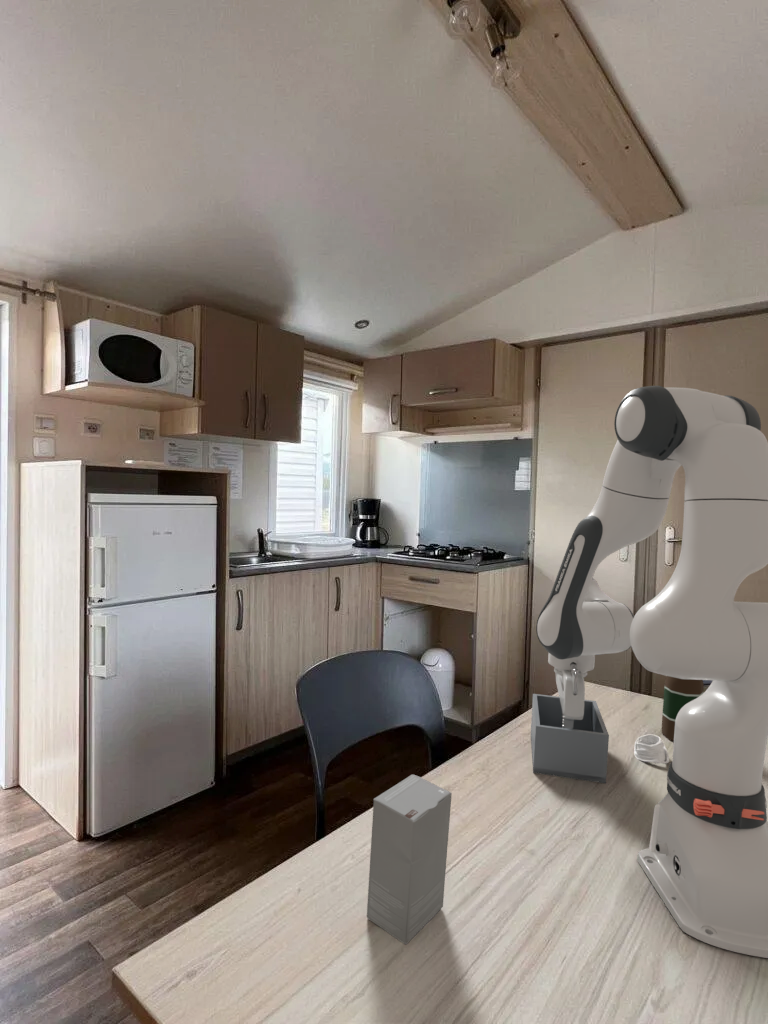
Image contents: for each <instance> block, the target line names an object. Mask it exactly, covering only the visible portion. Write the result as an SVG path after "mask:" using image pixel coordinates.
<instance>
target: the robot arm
mask: <svg viewBox="0 0 768 1024" xmlns="http://www.w3.org/2000/svg"><path fill="white" fill-rule="evenodd" d="M616 409H617V410H616V413H615V416H614V421H613V422H614V423H613V425H614V432H615V436H616V438H617V440H616V443H615V445H614V446H613V449H612V452H611V454H610V457H609V460H608V463H607V466H606V469H605V472H604V474H603V475H604V476H603V480H602V485H601V487H600V488H601V489H600V492H599V495H598V497H597V499H596V502H595V503H594V505H593V507H592V509H591V510H590V511H589V513H588V514H587V516H585V517H584V518H583V519H582V520H580V521H579V522H578V524H577V525H576V527H575V529H574V531H573V533H572V535H571V538H570V541H569V543H568V545H567V549H566V551H565V553H564V556H563V559H562V561H561V564H560V566H559V570H558V573H557V575H556V577H555V581H554V584H553V586H552V589H551V591H550V594H549V596H548V599H547V600H546V602H545V604H544V605H543V607H542V609H541V610H540V613H539V615H538V617H537V619H536V629H535V632H536V637H537V639H538V641H539V643H540V645H542V646H541V647H543V649H544V650H545V651H547V653H548V655H547V657H548V658H547V659H548V660H547V663H548V664H549V665H550V666H552V667H554V668H553V672H554V673H555V675H554V676H555V682H556V687H557V689H556V690H557V693H558V697H559V698H560V703H561V707H562V720H563V719H564V720H563V725H564V728H568V729H573V724H574V719H575V720H582V719H583V716H584V701H585V700H586V698H585V695H586V693H585V692H586V688H585V687H586V686H585V685H586V684H585V678H586V677H587V676H588V672H589V671H593V670H594V668H595V663H596V662H595V660H596V655H597V656H598V655H606V654H617V653H622V652H627V651H628V650H629V649H630V648H631V649H632V652H633V654H634V656H635V658H636V659H637V661H638V662H639V664H641V666H642V667H643V668H644V669H645V670H646V671H649V672H651V673H654V674H658V675H662V676H664V677H666V676H670V677H674V678H679V679H687V680H703V681H711V683H710V685H709V686H708V688H706V690H705V691H704V693H703V694H702V695H701V696H699V697H698V698H696V699H694V700H692V701H690V702H689V703H687V704H685V705H684V706H683V707H682V708H681V709H680V711H679V712H678V714H677V717H676V719H675V731H674V741H673V746H672V747H673V750H672V761H671V762H669V763H668V764H669V765H668V770H667V772H666V790H667V793H666V794H665V796H664V797H663V798H662V799H661V800H660V801H659V802H657V803H656V804H655V806H654V809H653V815H652V823H651V824H652V825H651V831H650V839H649V840H650V841H649V847H647V848H643V849H641V850H639V851H637V857H636V860H637V862H638V864H639V866H641V869H642V870H643V872H644V873H645V875H646V876H647V878H648V880H649V881H650V883H651V885H652V886H653V887H654V889H655V890H656V892H657V894H658V895H659V898H661V900H662V901H663V904H664V905H665V906H666V908H667V909H668V911H669V913H670V915H671V916H672V918H673V919H674V921H675V922H676V923H677V925H678V926H679V928H680V929H681V930H682V932H683V933H685V934H687V935H689V936H690V937H692V938H694V939H695V940H696V939H697V940H698V941H701V942H703V943H705V944H708V945H711V946H714V947H716V948H719V949H723V950H727V951H730V952H734V953H738V954H743V955H749V956H753V957H759V958H764V959H765V958H766V959H768V820H767V819H768V816H767V807H768V805H767V798H766V791H765V790H766V789H765V787H764V785H763V773H764V764H765V757H766V750H767V744H768V743H767V742H768V602H762V601H761V602H759V601H758V602H755V601H735V598H736V597H735V596H736V594H737V591H738V590H739V587H740V585H741V583H743V581H744V580H745V579H746V578H747V577H748V576H750V575H752V574H755V573H757V572H758V571H761V570H762V569H764V568H765V567H767V565H768V440H767V438H766V435H765V434H764V433H763V432H762V431H761V429H762V427H761V426H762V423H761V417H760V414H759V412H758V410H757V409H756V407H754V406H753V405H752V404H751V403H749V402H747V401H745V400H744V399H742V398H739V397H737V396H734V395H721V394H718V393H715V392H714V393H713V392H710V391H709V392H708V391H704V390H700V389H697V388H692V387H691V388H690V387H675V386H674V387H664V386H661V385H648V386H646V385H645V386H641V387H640V386H639V387H638V388H634V389H632V390H630V391H629V392H628V393H626V394H625V396H624V397H623V398H622V400H621V401H620V403H619V405H618V407H617V408H616ZM681 467H682V468H683V471H684V477H685V478H684V479H685V481H684V482H685V483H684V497H683V498H684V499H683V501H684V502H683V522H682V523H683V524H682V526H683V527H682V535H681V536H682V537H681V547H680V554H679V558H678V560H677V563H676V565H675V566H676V567H675V569H674V571H673V573H672V575H671V576H670V578H669V580H668V581H667V583H666V584H665V586H663V588H662V589H661V590H660V592H659V593H658V594H657V595H655V596H654V597H653V598H652V599H650V600H649V601H648V602H646V603H645V604H643V605H642V606H641V607H640V608H639V609H638V610H637V612H636V613H635V615H634V613H633V611H632V610H631V609H630V607H628V606H627V605H626V604H625V603H623V602H619V601H617V600H615V599H614V598H612V597H610V596H609V595H608V594H607V593H606V592H604V590H602V589H601V587H600V586H599V583H598V581H597V580H596V579H595V578H593V577H594V576H595V573H596V571H597V568H598V567H599V565H600V564H601V563H602V562H603V561H604V560H605V559H606V558H608V557H609V556H610V555H613V553H616V552H617V551H620V550H622V549H624V548H626V547H628V546H631V545H634V544H637V543H640V542H642V541H645V540H646V539H647V538H649V537H651V536H652V535H653V534H656V532H657V531H658V530H659V528H660V527H661V524H662V523H663V520H664V519H665V516H666V513H667V510H668V504H669V501H670V498H671V492H672V488H673V483H674V479H675V475H676V472H678V470H679V469H680V468H681ZM563 716H564V717H563Z"/></svg>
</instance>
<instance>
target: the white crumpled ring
mask: <svg viewBox="0 0 768 1024" xmlns="http://www.w3.org/2000/svg"><path fill="white" fill-rule="evenodd" d="M633 748H634V749H633V755H634V757H635V758H636V759H637V760H638V761H641V762H645V763H651V764H670V755H669V753H668V749H667V747H666V746H665V743H664V741H663V739H662V738H661V737H660V736H659V735H656V734H652V733H651V734H644V735H641V736H639V737H638V738H637V739H636V740H635V741H634V746H633Z"/></svg>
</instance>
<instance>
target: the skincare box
mask: <svg viewBox="0 0 768 1024" xmlns="http://www.w3.org/2000/svg"><path fill="white" fill-rule="evenodd" d="M451 805H452V792H451V791H449V790H447V789H444V788H443V787H441V786H438V785H436V784H434V783H432V782H431V781H428V780H427V779H424V778H423V777H421V776H418V775H415V774H414V773H413V774H410V775H409V776H407V777H406V778H404V779H403V780H401V781H399V782H397V784H395V785H393V786H392V787H390V788H389V789H387V790H385V791H384V792H382V793H380V794H379V795H377V796H376V797H374V798H373V806H372V808H373V809H372V811H373V812H372V823H371V824H372V825H371V839H370V840H371V841H370V854H369V855H370V857H369V874H368V888H367V903H366V904H367V905H366V906H367V907H366V918H367V919H368V920H369V921H371V922H372V923H374V924H375V925H377V926H378V927H379V928H381V929H382V930H384V931H385V932H387V933H388V934H389V935H391V936H392V937H393V938H395V939H397V940H398V941H399V942H401V943H402V944H404V945H407V944H408V943H409V942H410V941H411V940H412V939H413V938H414V937H415V936H416V935H417V934H419V932H420V931H421V930H422V929H423V928H424V927H425V926H426V925H427V923H429V922H430V921H431V919H433V918H434V917H435V916H436V915H437V913H439V911H440V910H441V909H442V908H443V907H444V896H445V895H444V894H445V885H446V883H445V881H446V870H447V869H446V868H447V857H448V856H447V855H448V847H449V846H448V845H449V843H448V842H449V832H450V831H449V830H450V819H451V807H452V806H451Z"/></svg>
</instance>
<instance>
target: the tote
mask: <svg viewBox="0 0 768 1024" xmlns="http://www.w3.org/2000/svg"><path fill="white" fill-rule="evenodd" d="M531 706H532V707H531V718H530V719H531V721H530V723H531V724H530V745H531V747H530V748H531V759H532V773H533V774H539V775H547V776H552V777H560V778H567V779H574V780H580V781H587V782H588V781H589V782H595V783H601V784H606V783H607V774H608V773H607V771H608V756H609V741H610V740H609V739H610V735H609V732H608V729H607V727H606V724H605V722H604V719H603V717H602V714H601V711H600V709H599V705H598V702H597V701H596V700H591V699H585V701H584V716H583V719H582V720H575V719H574V724H573V729H568V728H562V727H563V726H562V725H563V720H562V707H561V703H560V698H559V696H557V695H556V696H555V695H548V694H547V695H546V694H540V693H532V705H531Z"/></svg>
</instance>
